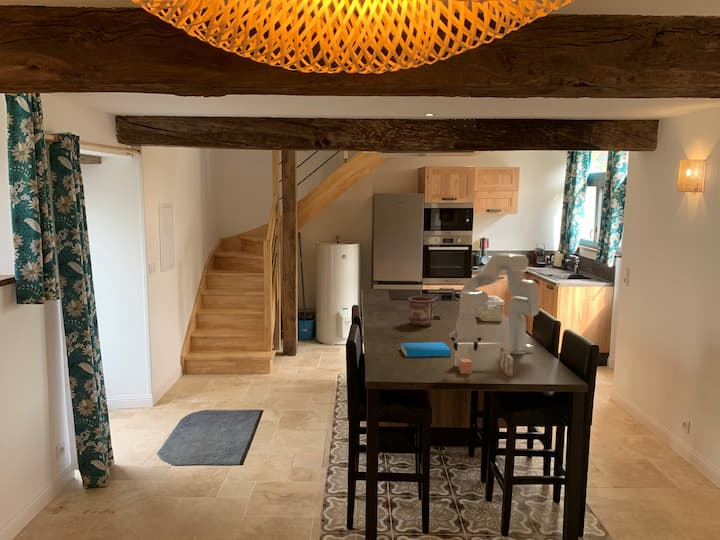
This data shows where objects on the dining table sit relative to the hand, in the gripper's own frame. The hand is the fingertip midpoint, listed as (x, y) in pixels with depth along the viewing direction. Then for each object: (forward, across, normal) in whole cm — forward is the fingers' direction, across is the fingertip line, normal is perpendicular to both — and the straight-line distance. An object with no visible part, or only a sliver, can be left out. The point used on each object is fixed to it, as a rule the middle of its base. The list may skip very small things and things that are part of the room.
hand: (465, 350), depth 289 cm
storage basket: (+9, -44, -125) cm, 133 cm away
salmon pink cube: (+11, 0, 0) cm, 11 cm away
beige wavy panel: (+11, -21, -1) cm, 24 cm away
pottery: (+10, +8, -104) cm, 104 cm away
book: (+12, +14, -35) cm, 40 cm away
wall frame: (+11, -12, -10) cm, 19 cm away
